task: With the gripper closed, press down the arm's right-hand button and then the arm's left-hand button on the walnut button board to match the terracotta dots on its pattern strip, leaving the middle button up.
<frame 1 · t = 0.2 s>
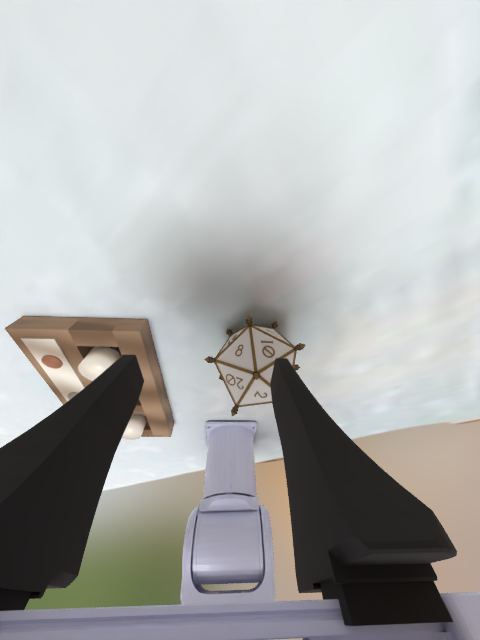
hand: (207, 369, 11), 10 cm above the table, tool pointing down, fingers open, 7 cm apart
button 2: (131, 425, 28), point 2 cm above the table, slide at 0.0 cm
button board: (115, 382, 26), on the table
game die: (253, 335, 23), on the table
button 1: (101, 364, 21), point 3 cm above the table, slide at 0.0 cm
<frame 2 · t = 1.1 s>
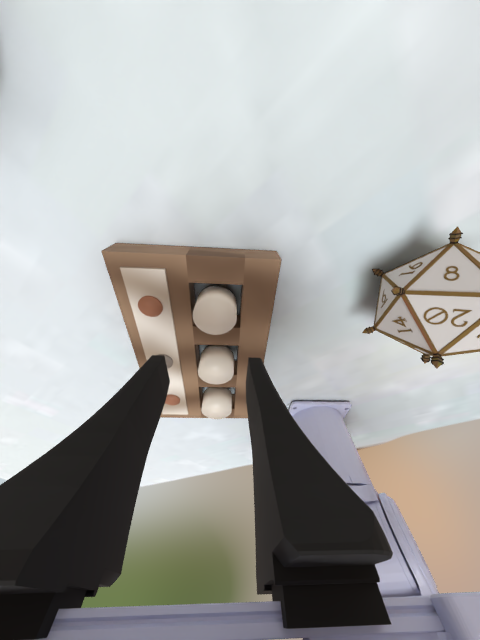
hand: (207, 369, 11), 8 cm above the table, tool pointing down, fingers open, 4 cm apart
button 2: (217, 402, 23), point 2 cm above the table, slide at 0.0 cm
button board: (203, 346, 21), on the table
button middle: (216, 364, 19), point 2 cm above the table, slide at 0.0 cm
game die: (398, 279, 18), on the table
button 1: (215, 310, 16), point 2 cm above the table, slide at 0.0 cm
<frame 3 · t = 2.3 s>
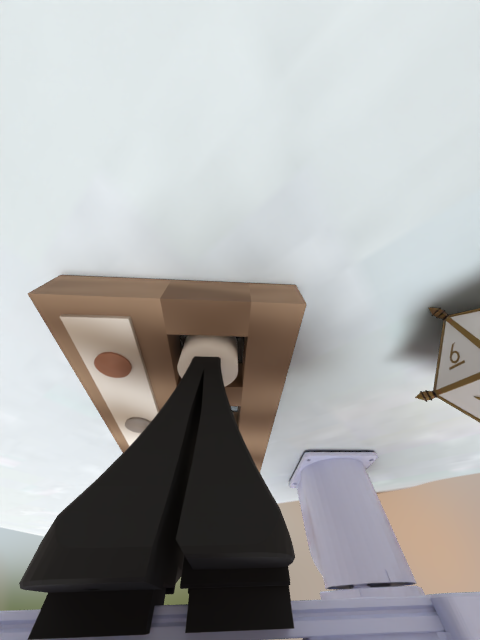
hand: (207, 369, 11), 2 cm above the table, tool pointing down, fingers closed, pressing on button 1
button board: (194, 397, 16), on the table
game die: (462, 320, 13), on the table
button 1: (209, 357, 12), point 1 cm above the table, slide at 1.0 cm, touching gripper
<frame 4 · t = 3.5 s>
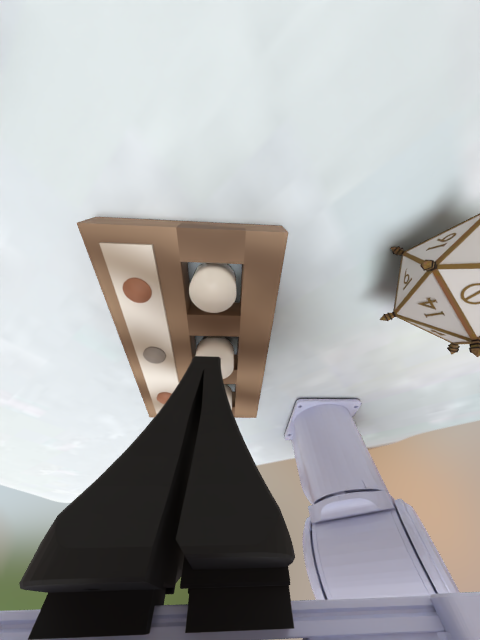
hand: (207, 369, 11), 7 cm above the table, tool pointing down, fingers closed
button 2: (215, 400, 21), point 2 cm above the table, slide at 0.0 cm
button board: (200, 338, 19), on the table
button middle: (214, 358, 17), point 2 cm above the table, slide at 0.0 cm
game die: (420, 260, 16), on the table
button 1: (213, 286, 15), point 1 cm above the table, slide at 1.2 cm
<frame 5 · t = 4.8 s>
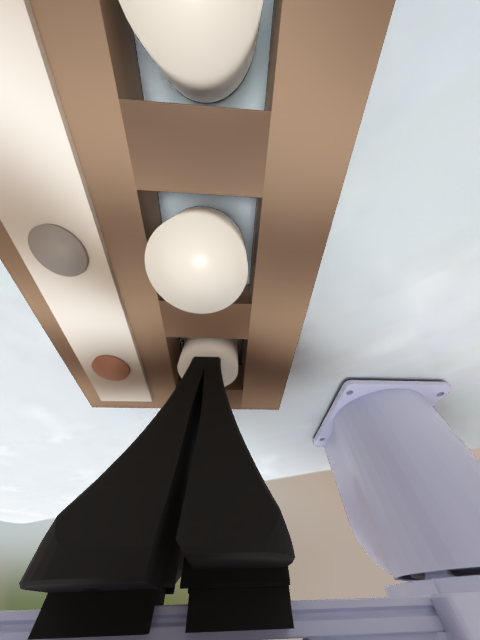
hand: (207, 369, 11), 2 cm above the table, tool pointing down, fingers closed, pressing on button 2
button 2: (209, 357, 12), point 1 cm above the table, slide at 1.2 cm, touching gripper
button board: (175, 240, 9), on the table
button middle: (201, 260, 7), point 2 cm above the table, slide at 0.0 cm
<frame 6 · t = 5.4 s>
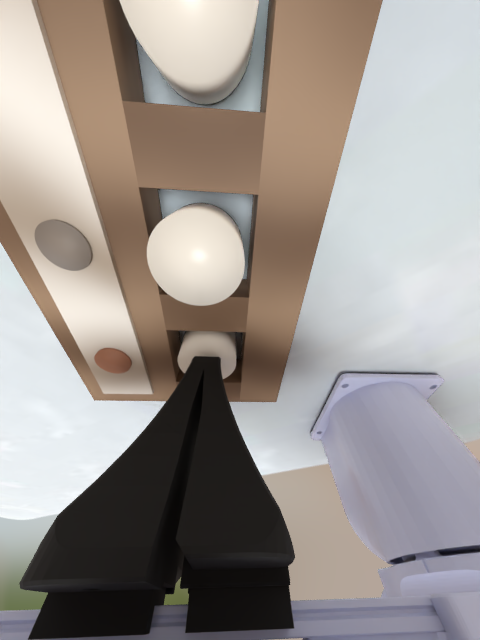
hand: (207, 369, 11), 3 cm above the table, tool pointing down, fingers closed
button 2: (209, 350, 12), point 1 cm above the table, slide at 1.2 cm
button board: (175, 236, 10), on the table
button middle: (200, 255, 8), point 2 cm above the table, slide at 0.0 cm
button 1: (194, 3, 5), point 1 cm above the table, slide at 1.2 cm
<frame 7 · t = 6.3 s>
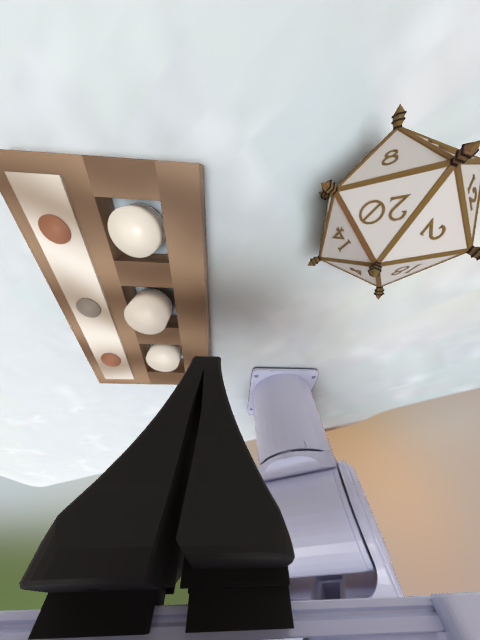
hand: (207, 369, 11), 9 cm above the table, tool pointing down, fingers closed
button 2: (165, 354, 21), point 1 cm above the table, slide at 1.2 cm
button board: (142, 296, 19), on the table
button middle: (150, 311, 17), point 2 cm above the table, slide at 0.0 cm
game die: (353, 209, 15), on the table
button 1: (139, 230, 14), point 1 cm above the table, slide at 1.2 cm
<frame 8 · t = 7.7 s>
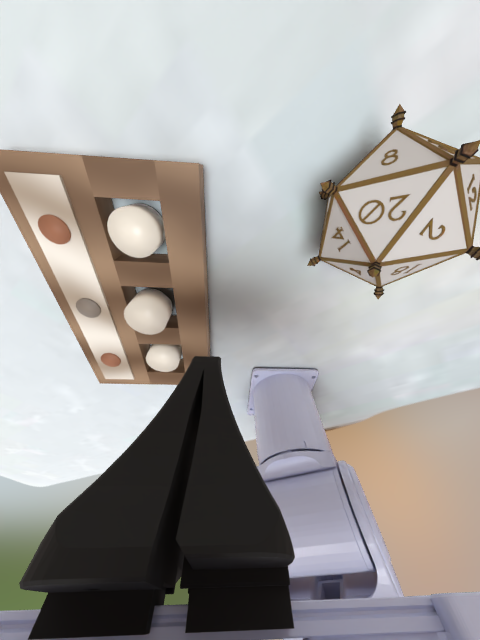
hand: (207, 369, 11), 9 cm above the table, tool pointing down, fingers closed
button 2: (165, 354, 21), point 1 cm above the table, slide at 1.2 cm
button board: (142, 296, 19), on the table
button middle: (149, 311, 17), point 2 cm above the table, slide at 0.0 cm
game die: (352, 208, 15), on the table
button 1: (139, 230, 14), point 1 cm above the table, slide at 1.2 cm
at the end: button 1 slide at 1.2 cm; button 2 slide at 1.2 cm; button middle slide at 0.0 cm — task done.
